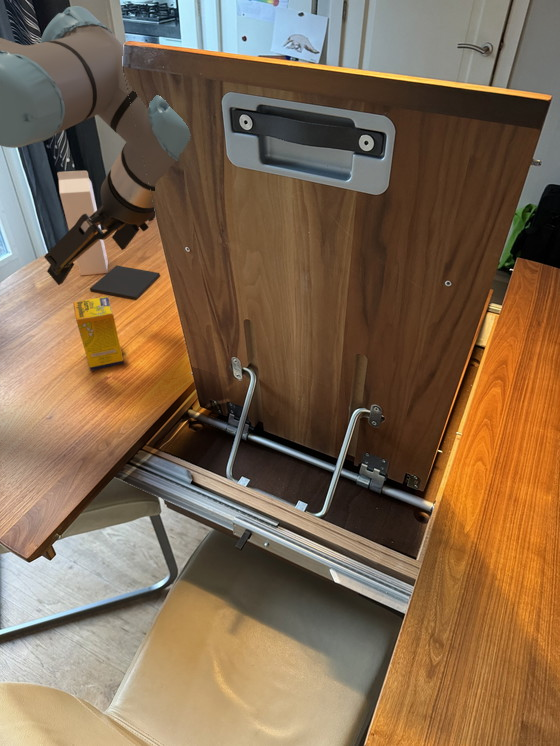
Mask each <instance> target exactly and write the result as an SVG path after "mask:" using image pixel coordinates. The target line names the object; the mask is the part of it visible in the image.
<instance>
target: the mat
mask: <svg viewBox="0 0 560 746" xmlns="http://www.w3.org/2000/svg"><path fill="white" fill-rule="evenodd" d="M160 276H161V273H160V272H158V271H157V272H156V271H150V270H145V269H140V268H135V267H128V266H122V265H117V264H116V265H115V266H114V267H113V268H112V269H110V270H109V271H108V272H107V273H105V274H104V275H103V276H102V277H101V278H100V279H99V280H97V281H96V282H95V283H94V284H93V285H92V286H91V287H90V288H89V292H91V293H97V294H102V295H107V296H113V297H117V298H123V299H128V300H133V301H137V300H138V299H139V298H140V297H141V296H142V295H143V294H144V293H145V292H147V290H148V289H149V288H150V287H151V286H152V285H153V284H154V283H155V282H156V281H157V280H158V279H159V278H160Z"/></svg>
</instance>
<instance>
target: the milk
mask: <svg viewBox="0 0 560 746" xmlns="http://www.w3.org/2000/svg"><path fill="white" fill-rule="evenodd" d="M56 175H57V179H58V190H59V191H58V192H59V196H60V197H59V198H60V200H61V204H62V208H63V212H64V215H65V216H64V217H65V220H66V224H67V228H68V231H69V230H70V229H71V228H72V227H73V226H74V225H75V224H76V223H77V221H78V220H79V218H80V217H81V216H82V215H83V214H87V215H88V216H89V217H90V216H91V215H92V214H93V213H95V212H96V211H97V210H98V206H97V203H96V197H95V193H94V188H93V183H92V180H91V179H90V178H89V172H88V171H87V170H72V171H58V172H57V174H56ZM98 227H99V228H100V229H101V230H102V225H101V224H100V225H98ZM75 261H76V264H77V268H78V271H79V275H80V276H92V275H101V274H102V275H103V274H107V273H108V272H109V271H108V269H109V268H108V267H109V266H108V265H109V260H108V255H107V251H106V246H105V240H101V239H100V240H99V241H97V242H96V243H95V244H94V245H93V246H92V247H90V248H89V249H88V250H87V251H86V252H85V253H83V254H82V255H81V256H80V257H79V258H78V259H76V260H75Z"/></svg>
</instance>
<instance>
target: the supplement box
mask: <svg viewBox="0 0 560 746" xmlns="http://www.w3.org/2000/svg"><path fill="white" fill-rule="evenodd" d="M73 309H74V316H75V321H76V325H77V327H78V332H79V334H80V338H81V342H82V345H83V349H84V353H85V356H86V360H87V364H88V367H89V369H90V371H92V372H94V371H97V370H101V369H107V368H111V367H115V366H120V365H124V364H125V361H124V357H123V352H122V349H121V344H120V340H119V336H118V330H117V325H116V321H115V316H114V313H113V311H112V305H111V301H110V298H109V296H108V295H107V296H101V297H94V298H90V299H84V300H77V301H74V302H73Z"/></svg>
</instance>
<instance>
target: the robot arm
mask: <svg viewBox="0 0 560 746" xmlns="http://www.w3.org/2000/svg"><path fill="white" fill-rule="evenodd" d="M123 46H124V45H123V43H121V42H120V40H119V39H118V38H117V37H116V36H115V35H114V33H113V31H112V30H111V29H110V28H108V26H106V25H105V24H103V23H102V22H101V21H100V20H99V19H97V18H96V17H95V15H93V14H92V13H91V12H90V11H89V10H88V9H87V8H85V7H83V6H80V5H72V6H68V7H66V8H65V9H64V11H63V12H58V13H57V14H56V15H55V16H54V17H53V18H52V19H51V21H50V22H49V23H48V24H47V26H46V28H45V29H44V31H43V33H42V36H41V37H40V41H39V42H38V43H33V44H28V45H26V44H20V43H17V42H14V41H11V40H8V39H5V38H3V37H0V146H1V147H4V148H10V149H12V148H13V149H17V148H22V147H26V146H29V145H32V144H39V143H43V142H45V141H47V140H48V139H51V138H52V137H54V136H55V135H57V134H59V133H62V132H63V131H65V130H67V129H69V128H71V127H73V126H76V125H78V124H79V123H81V122H84V121H87V120H88V119H91V118H93V117H95V116H98V117H99V118H100V119H101V120H102V121H103V122H104V123H105V124H106V125H107V126H108V127H110V129H112V130H113V132H115V134H117V135H118V136H120V138H121V139H123V141H124V142H125V143H124V146H123V147H122V149H121V150H120V152H119V154H118V155H117V157H116V159H115V160H114V162H113V163H112V166H111V168H110V170H109V171H108V173H107V174H106V177H105V179H104V180H103V182H102V184H101V185H100V186H101V187H100V198H101V204H100V205H98V206H97V211H96V212H95V213H93V214H92V215H91V216H90V217H89V216H88V215H87V214H83V215H82V216H81V217H80V218H79V220H78V221H77V223H76V224H75V225H74V226H73V227H72V228H71V229H70V230H69V229H68V231H67V232H66V233H65V234H64V235H63V236H62V238H60V239H59V241H58V242H57V243H56V244H54V245H53V247H50V248H49V251H48V252H47V253H46V254H45V255H44V256H43V258H44V259H45V260H46V261H47V262H48V264H49V267H48V269H47V270H46V272H47V273H48V274H49V276H50V278H52V279H53V281H54V282H55V283H56V285H58V286H60V285H63V283H64V282H65V281H66V279H67V277H68V276H69V274H70V272H72V269H73V268H74V266H75V263H74V262H76V261H77V260H76V259H78V258H79V257H80V256H81V255H82V254H83V253H85V252H86V251H87V250H88V249H89V248H90V247H92V246H93V245H94V244H95V243H96V242H97V241H99V240H100V239H101V240H104V241H106V240H107V239H108V238H109V237H110V236H111V239H112V240H113V242H115V244H116V245H117V246H118V247H119V249H120V250H122V251H124V250H125V249H126V248H127V247H128V246H129V245H130V243H131V241H133V240H134V237H136V235H137V234H138V233H139V231H140V230H141V231H142V232H145V231H147V230H148V229H149V225H148V224H147V223H146V222H147V221H148V222H153V221H154V219H155V218H156V214H155V211H154V205H153V202H152V198H153V194H151V193H152V191H155V186H156V185H155V184H156V183H157V181H158V180H159V179H160V178H161V177H162V176H164V174H166V172H167V170H169V168H170V167H171V166H172V165H173V164H174V163H175V161H178V160H179V159H178V158H179V155H180V153H182V152H183V150H184V148H185V147H186V145H187V143H188V141H190V138H191V137H190V136H191V134H190V131H189V128H188V126H187V125H186V123H185V122H184V121H183V119H182V118H181V117H180V116H179V115H178V114H177V113H176V112H175V111H174V110H173V109H172V108H171V107H170V106H169V104H168V103H167V102H166V100H164V99H163V98H162V97H161V96H159V95H156V96H155V97H154V98H153V100H152V101H150V103H149V107H148V109H147V108H146V105H144V103H143V101H141V98H139V96H137V94H136V92H134V91H133V90H132V87H131V86H129V83H128V85H127V87H126V84H127V82H128V80H126V76H125V78H124V75H125V73H124V75H123V69H122V56H123ZM125 80H126V83H125ZM130 87H131V88H130ZM127 88H129V89H128V92H127ZM129 91H130V92H129ZM128 93H130V94H128ZM128 95H129V96H128ZM129 98H130V99H129ZM130 102H131V103H132V104H131V103H130ZM130 104H131V105H130ZM131 107H132V108H131ZM132 111H133V113H132ZM133 116H134V117H133ZM134 119H135V121H134ZM135 124H136V126H135ZM136 128H137V129H136ZM138 136H139V138H138ZM140 146H141V147H140ZM142 155H143V157H142ZM143 158H144V159H143ZM143 160H144V161H143ZM144 163H145V166H144ZM146 172H147V175H146ZM148 182H149V184H148ZM150 184H151V185H150ZM150 189H151V192H150ZM151 195H152V196H151ZM98 225H100V226H101V227H102V228H103V229H104V230H105V232H104V231H102V228H101V229H100V228H99V227H98Z"/></svg>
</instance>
